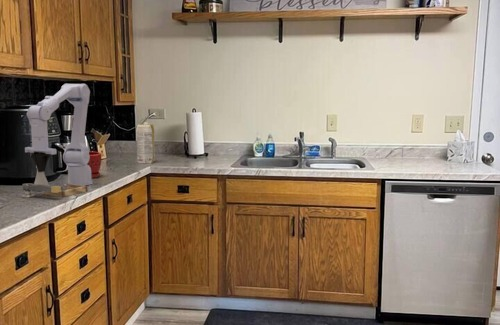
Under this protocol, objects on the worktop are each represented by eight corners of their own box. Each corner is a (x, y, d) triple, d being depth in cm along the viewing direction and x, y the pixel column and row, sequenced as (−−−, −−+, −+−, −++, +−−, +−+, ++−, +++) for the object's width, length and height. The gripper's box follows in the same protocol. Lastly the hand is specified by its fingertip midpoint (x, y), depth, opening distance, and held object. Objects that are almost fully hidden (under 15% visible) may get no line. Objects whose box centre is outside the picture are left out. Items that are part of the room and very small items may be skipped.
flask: (53, 188, 197) (52, 164, 195) (46, 191, 190) (45, 167, 188) (36, 188, 196) (35, 164, 195) (28, 191, 189) (27, 167, 188)
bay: (68, 188, 195) (68, 183, 195) (87, 191, 191) (87, 186, 191) (43, 194, 184) (43, 189, 183) (63, 197, 179) (62, 191, 179)
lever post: (28, 194, 183) (28, 188, 183) (36, 195, 181) (36, 189, 181) (19, 196, 179) (18, 190, 179) (27, 197, 177) (27, 191, 177)
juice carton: (155, 162, 278) (155, 122, 274) (151, 164, 270) (151, 122, 266) (140, 161, 278) (139, 121, 275) (136, 163, 271) (135, 122, 267)
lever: (20, 189, 179) (20, 184, 178) (27, 188, 182) (27, 182, 182) (55, 193, 173) (55, 187, 173) (62, 191, 177) (61, 185, 177)
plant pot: (68, 179, 218) (67, 153, 217) (81, 174, 231) (80, 150, 230) (94, 180, 217) (93, 154, 215) (106, 175, 230) (105, 151, 228)
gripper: (17, 136, 178) (19, 171, 180) (45, 138, 172) (47, 174, 174) (32, 135, 184) (34, 169, 186) (60, 137, 178) (61, 172, 180)
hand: (41, 171), depth 180 cm, fingers closed
